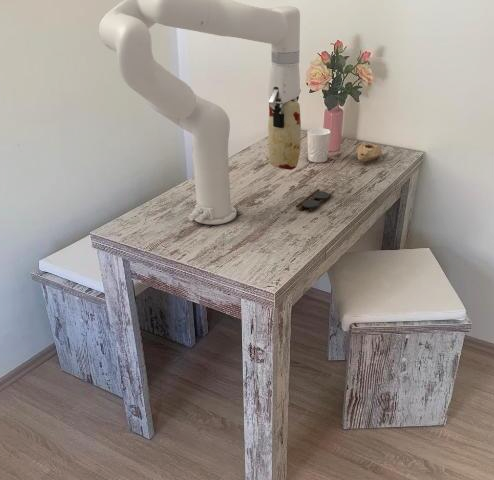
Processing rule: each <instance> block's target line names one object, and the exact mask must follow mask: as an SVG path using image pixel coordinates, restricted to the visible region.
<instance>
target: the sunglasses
mask: <svg viewBox="0 0 494 480" xmlns="http://www.w3.org/2000/svg"><path fill="white" fill-rule="evenodd" d="M329 198H331V193H329V192H327V191H321V190H320V188H316V189H315V190H314V191H313V192H311V193H310V194H309V195H307V196H306V197H304V198H303V199H302V200H301V201H300V202H298V203H297V204H296V205H295V208H299V207H300V210H302V211H303V210H304V209H305V208H306V209H308V212H309V213H311V212H312V211H314V210H315V209H316V208H318V207H319V206H320V205H321V204H323V203H324V202H325V201H326V200H327V199H329Z"/></svg>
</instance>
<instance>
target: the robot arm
mask: <svg viewBox="0 0 494 480" xmlns="http://www.w3.org/2000/svg"><path fill="white" fill-rule="evenodd" d="M155 24H158V25H163V26H167V27H169V28H170V27H171V28H176V29H181V30H186V31H187V30H188V31H192V32H198V33H202V34H203V33H204V34H210V35H214V36H217V37H219V36H220V37H227V38H228V37H229V38H236V39H242V40H247V41H253V42H258V43H262V44H263V43H264V44H268V45H269V44H270V46H271V48H270V51H271V52H270V53H271V54H270V55H271V64H270V68H269V76H268V106H269V105H270V107H271V109H272V113H273V126H274V127H278V128H284V114H283V109H284V104H285V103H287V102H288V101H294V102H298V101H299V99H300V94H301V91H302V90H301V75H300V50H301V49H300V45H301V44H300V42H301V40H300V39H301V37H300V36H301V12H300V9H299V8H297V7H295V6H289V5H287V6H285V5H284V6H277V7H273V8H267V7H259V6H254V5H251V4H245V3H243V2H238V1H235V0H122V1H120V2H119V3H118V4H117V5H116V6H114V7H113V8H112V9H110V10H109V11H108V12H106V13H105V15H104V16H103V17H102V18H101V19H100V23H99V24H98V35H99V38H100V40H101V42H102V43H103V45H104V46H106V47H107V48H108V49H109V50H111V51H114V52H115V53H116V54H117V57H116V58H117V66H118V69H119V72H120V75H121V78H122V79H123V81H124V83H126V85H127V86H128V87H129V88H131V90H133V91H134V92H136V93H137V94H138V95H140V96H141V97H142V98H144V99H145V101H146V103H147V104H148V105H149V106H150V108H152V110H154V111H155V112H157V113H158V114H160V115H161V116H163V117H164V118H166V119H167V120H169V121H171V122H172V123H174V125H176V126H178V127H180V128H181V129H183V130H185V131H186V132H188V133H190V134H191V135H193V136H194V142H193V146H192V165H193V176H194V178H193V179H194V187H195V188H194V189H195V190H194V191H195V201H196V204H194V209H192V212H190V213H189V214H187V219H188V221H190V222H192V221H195V222H197V223H199V224H203V225H211V226H212V225H215V226H216V225H222V224H226V223H229V222H231V221H233V220H234V219H235V218H236V217H237V214H238V213H237V208H236V207H235V206H233V205H232V204H231V186H230V184H231V183H230V165H229V164H230V162H229V138H230V132H231V131H230V130H231V122H230V118H229V116H228V115H229V114H228V113H227V112H226V111H225V109H223V108H222V107H221V106H220V105H218V104H216V103H214V102H213V101H212V102H211V101H209V100H207V99H205V98H203V97H200V96H199V95H197V94H196V93H195V92H194V91H193V89H192V88H191V86H190V85H188V83H186V82H185V81H183V80H182V79H180V78H179V77H177V76H175V75H174V74H173V73H171V72H170V71H169V70H167V69H166V68H165V67H163V66H162V65H161V64H160V63H158V62H157V60H155V57H154V54H153V48H152V36H151V32H150V30H149V29H150V28H152V27H153V26H154V25H155ZM278 100H281V102H279V101H278ZM277 104H280V108H279V107H278V105H277Z"/></svg>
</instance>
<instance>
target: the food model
mask: <svg viewBox="0 0 494 480" xmlns="http://www.w3.org/2000/svg"><path fill="white" fill-rule="evenodd" d="M278 101H279V102H281V100H278ZM277 105H278V107H279V108H280V104H277ZM283 114H284V128H278V127H274V126H273V113H272V109H271V107H270V105H269V104H268V122H267V123H268V125H267V131H268V145H267V146H268V163H269V164H270V165H271V166H273V167H274V168H277V169H282V170H288V171H291V170H294V169H296V168H297V167H298V163H299V159H300V156H301V155H300V154H301V145H302V144H301V142H302V141H301V140H302V138H301V137H302V125H301V123H302V121H301V105H300V103H299V102H298V101H297V102H294V101H288V102H287V103H285V104H284V109H283Z"/></svg>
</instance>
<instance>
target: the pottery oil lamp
mask: <svg viewBox="0 0 494 480" xmlns="http://www.w3.org/2000/svg"><path fill="white" fill-rule="evenodd" d="M355 152H356V154H357V159H358V162H361V163H366V162H367V163H368V162H372V161H374V160H376V159H377V158H379V157H380V156H382V155H383V150H382V148H380V146H379V145H377V144H375V143H369V142H365V143H362V144H360V145H359V146H358V147H357V148H356V150H355Z"/></svg>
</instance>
